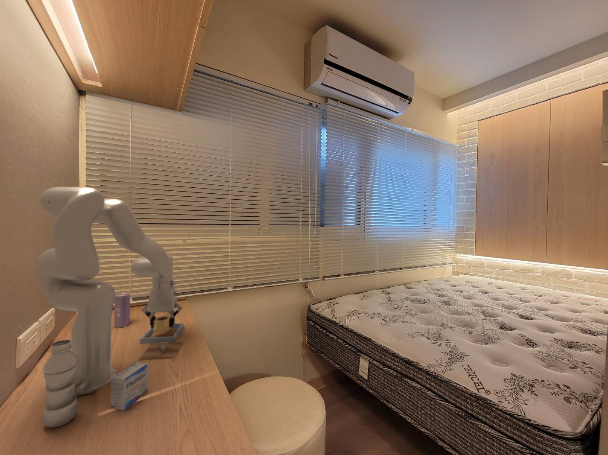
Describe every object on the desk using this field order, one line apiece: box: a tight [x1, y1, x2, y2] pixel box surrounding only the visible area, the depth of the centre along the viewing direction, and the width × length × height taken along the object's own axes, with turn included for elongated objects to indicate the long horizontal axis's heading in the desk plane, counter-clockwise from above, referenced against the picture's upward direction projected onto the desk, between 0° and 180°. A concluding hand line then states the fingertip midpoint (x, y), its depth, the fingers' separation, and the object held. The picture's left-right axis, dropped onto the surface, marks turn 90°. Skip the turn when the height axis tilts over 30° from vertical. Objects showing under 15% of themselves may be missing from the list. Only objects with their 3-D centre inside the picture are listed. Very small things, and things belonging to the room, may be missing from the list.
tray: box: [139, 322, 185, 345], centre depth 111 cm, size 15×13×3 cm
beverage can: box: [113, 292, 131, 329], centre depth 122 cm, size 6×6×15 cm
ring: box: [153, 312, 172, 334], centre depth 112 cm, size 10×6×4 cm, turn 11°
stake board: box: [137, 341, 184, 361], centre depth 98 cm, size 13×12×5 cm
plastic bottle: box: [42, 339, 79, 429], centre depth 64 cm, size 6×7×20 cm
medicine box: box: [110, 362, 148, 411], centre depth 73 cm, size 8×4×9 cm, turn 168°
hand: (162, 326), depth 110 cm, fingers closed on ring, 6 cm apart
